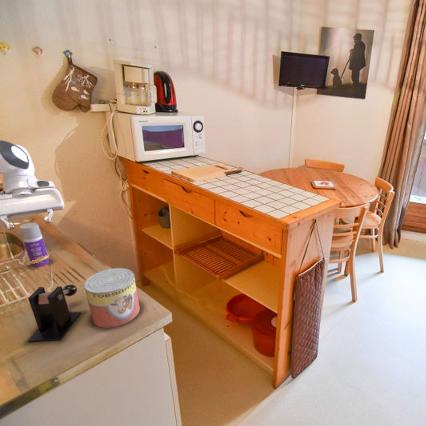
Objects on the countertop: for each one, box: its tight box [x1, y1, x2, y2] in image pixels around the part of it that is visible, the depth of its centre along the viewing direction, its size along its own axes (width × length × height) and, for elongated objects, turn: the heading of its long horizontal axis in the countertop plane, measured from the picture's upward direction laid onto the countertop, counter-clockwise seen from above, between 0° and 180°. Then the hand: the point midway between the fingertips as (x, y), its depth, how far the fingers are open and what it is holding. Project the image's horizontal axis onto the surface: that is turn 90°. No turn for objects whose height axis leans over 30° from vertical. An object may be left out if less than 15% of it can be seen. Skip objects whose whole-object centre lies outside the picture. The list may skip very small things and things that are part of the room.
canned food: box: [83, 267, 141, 329], centre depth 86 cm, size 11×11×12 cm
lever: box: [38, 283, 78, 304], centre depth 83 cm, size 12×3×3 cm, turn 9°
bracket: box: [27, 285, 82, 343], centre depth 80 cm, size 10×7×12 cm
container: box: [19, 222, 51, 268], centre depth 104 cm, size 5×5×15 cm
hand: (30, 225), depth 105 cm, fingers open, 8 cm apart
